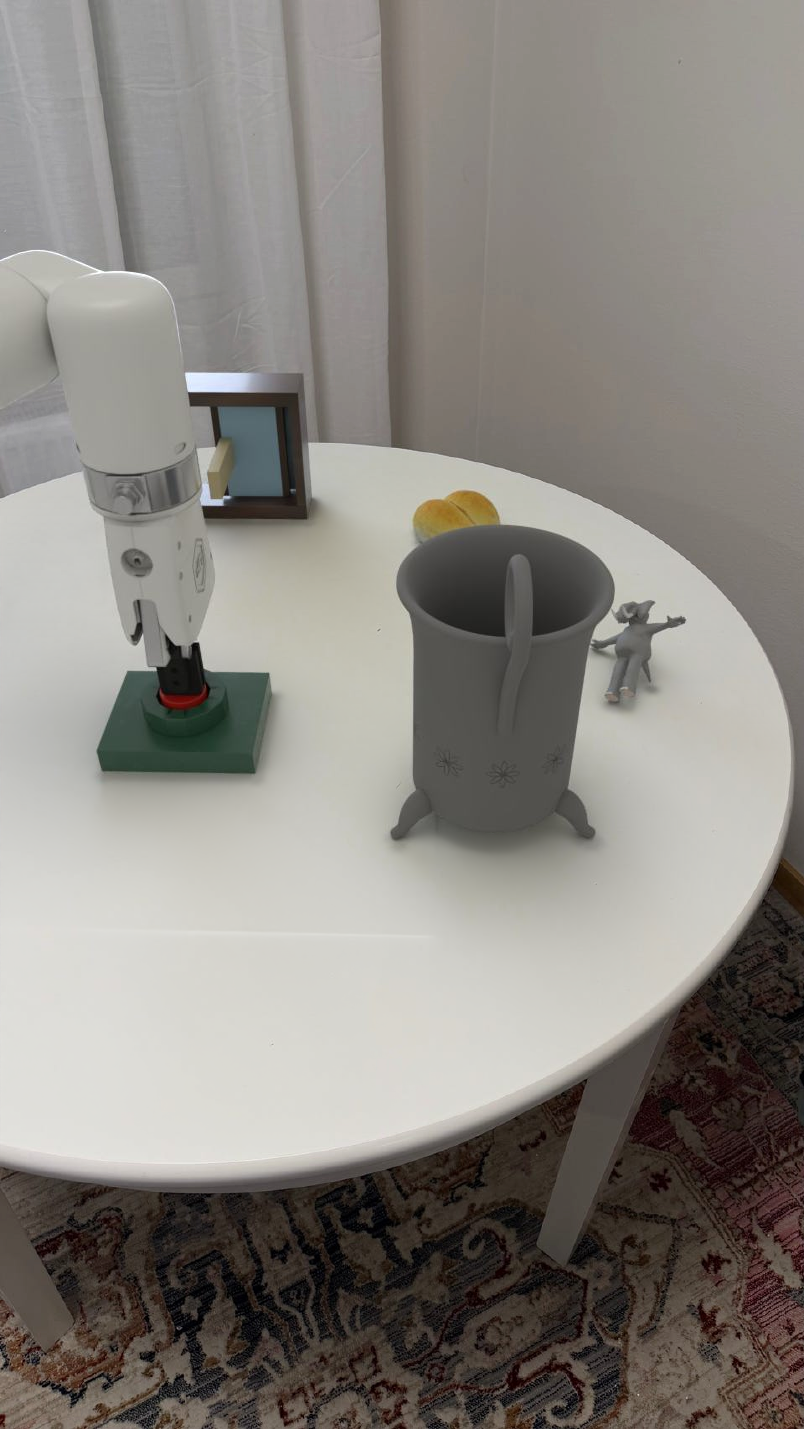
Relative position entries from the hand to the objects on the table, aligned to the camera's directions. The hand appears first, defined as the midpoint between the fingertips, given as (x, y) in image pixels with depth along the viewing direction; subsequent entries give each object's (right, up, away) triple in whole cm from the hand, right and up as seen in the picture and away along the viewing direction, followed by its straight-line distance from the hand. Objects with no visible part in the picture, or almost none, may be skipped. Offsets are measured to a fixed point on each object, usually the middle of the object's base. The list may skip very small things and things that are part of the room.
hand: (184, 688), depth 79 cm
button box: (0, -3, +3) cm, 4 cm away
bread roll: (+23, +17, +27) cm, 39 cm away
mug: (+24, -9, -4) cm, 26 cm away
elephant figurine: (+37, +1, +8) cm, 38 cm away
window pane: (+1, +19, +27) cm, 33 cm away
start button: (0, -1, +1) cm, 2 cm away
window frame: (-2, +21, +31) cm, 37 cm away
